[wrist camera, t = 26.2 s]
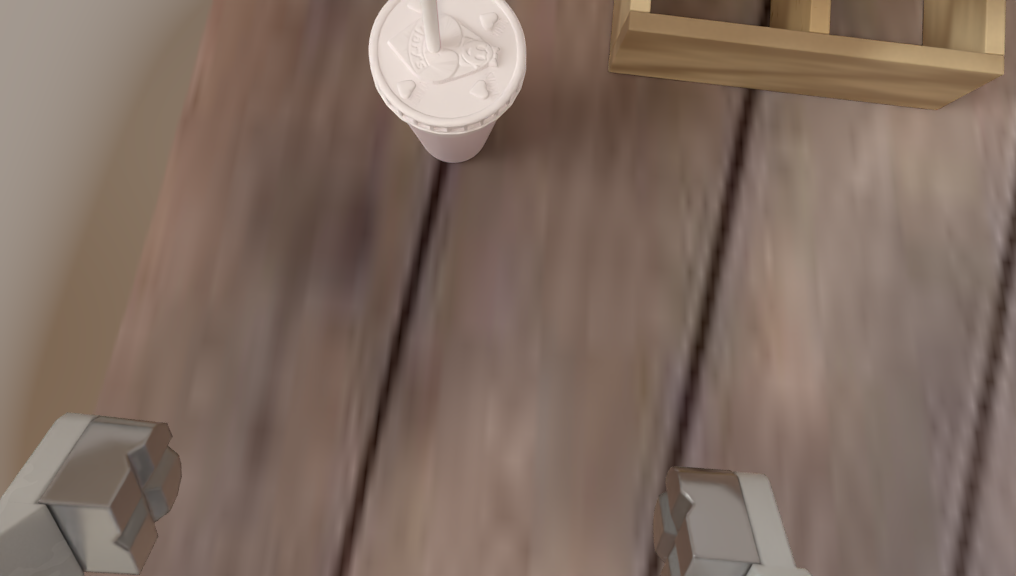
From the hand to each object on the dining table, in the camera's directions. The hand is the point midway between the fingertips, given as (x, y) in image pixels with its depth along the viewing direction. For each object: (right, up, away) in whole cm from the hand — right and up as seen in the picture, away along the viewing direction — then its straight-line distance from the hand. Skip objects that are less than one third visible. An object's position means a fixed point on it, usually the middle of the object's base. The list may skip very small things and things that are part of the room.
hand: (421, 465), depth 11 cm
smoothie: (-2, +11, +26) cm, 28 cm away
